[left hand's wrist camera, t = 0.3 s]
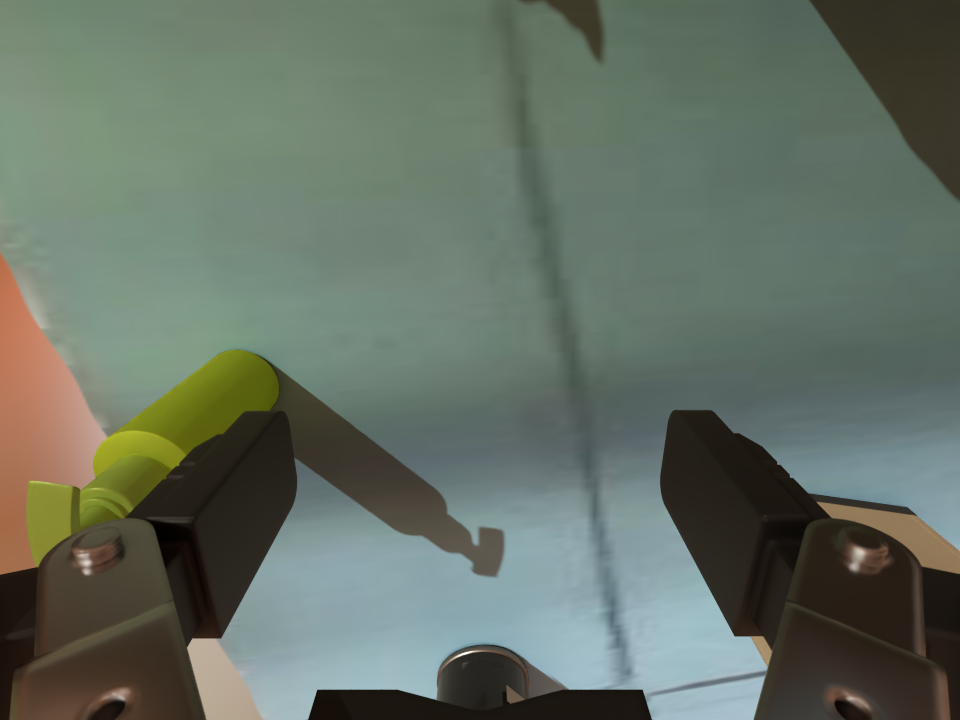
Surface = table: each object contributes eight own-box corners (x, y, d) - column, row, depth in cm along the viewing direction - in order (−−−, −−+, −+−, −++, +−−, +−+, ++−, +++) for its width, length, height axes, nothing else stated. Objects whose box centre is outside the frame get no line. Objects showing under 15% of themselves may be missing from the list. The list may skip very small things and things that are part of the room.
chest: (837, 632, 52) (920, 743, 42) (740, 620, 52) (802, 729, 42) (907, 507, 47) (1020, 600, 37) (799, 492, 46) (886, 583, 36)
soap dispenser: (280, 343, 41) (113, 499, 22) (278, 421, 43) (126, 620, 25) (204, 331, 40) (-31, 480, 22) (206, 410, 43) (-4, 605, 24)
